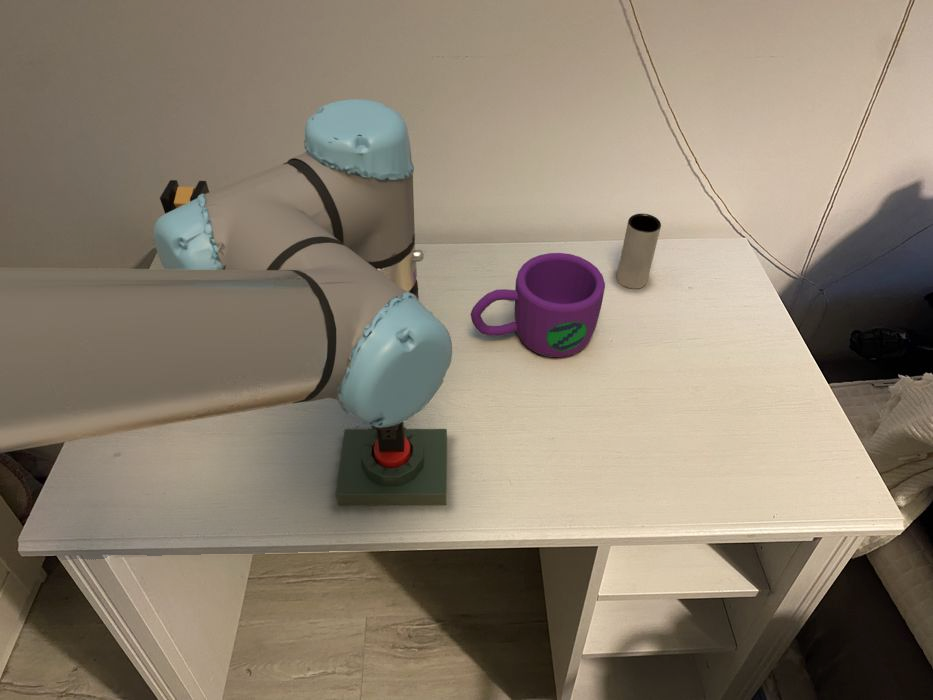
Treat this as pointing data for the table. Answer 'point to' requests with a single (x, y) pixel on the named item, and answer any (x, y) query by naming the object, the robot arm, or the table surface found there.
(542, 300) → the mug
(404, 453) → the red button
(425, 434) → the button block
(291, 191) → the robot arm
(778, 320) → the table surface
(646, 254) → the grey hollow cylinder
